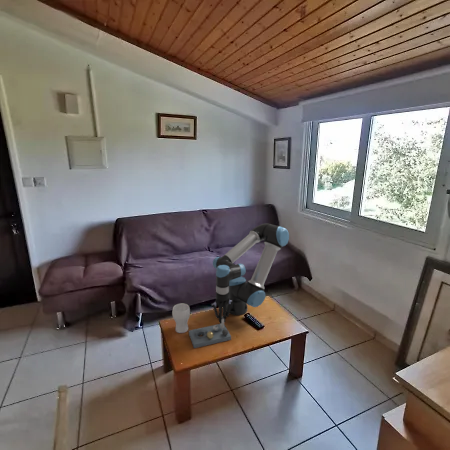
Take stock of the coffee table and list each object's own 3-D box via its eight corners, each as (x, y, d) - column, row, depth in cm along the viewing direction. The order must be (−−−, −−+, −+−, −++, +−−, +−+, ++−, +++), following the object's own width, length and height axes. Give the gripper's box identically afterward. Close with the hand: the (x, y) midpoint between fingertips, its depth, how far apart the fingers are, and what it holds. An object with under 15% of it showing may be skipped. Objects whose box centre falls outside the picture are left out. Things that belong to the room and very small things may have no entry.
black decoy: (226, 332, 164) (226, 327, 163) (228, 336, 160) (228, 331, 160) (221, 333, 162) (221, 328, 162) (223, 337, 159) (223, 332, 158)
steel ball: (217, 328, 167) (217, 323, 166) (219, 331, 164) (219, 326, 163) (212, 329, 166) (212, 324, 165) (213, 333, 163) (213, 328, 162)
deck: (223, 326, 173) (223, 323, 172) (231, 339, 161) (231, 336, 161) (188, 334, 166) (188, 330, 165) (194, 348, 154) (193, 344, 153)
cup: (187, 335, 164) (186, 313, 160) (170, 333, 166) (169, 311, 162) (192, 325, 174) (192, 303, 170) (176, 322, 176) (175, 301, 172)
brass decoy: (212, 335, 161) (212, 329, 160) (214, 339, 158) (214, 333, 156) (205, 336, 160) (205, 330, 159) (207, 341, 156) (207, 335, 155)
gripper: (230, 287, 165) (229, 321, 172) (209, 290, 161) (209, 325, 167) (235, 292, 159) (234, 328, 165) (213, 296, 154) (213, 333, 160)
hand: (222, 327), depth 166 cm, fingers closed
